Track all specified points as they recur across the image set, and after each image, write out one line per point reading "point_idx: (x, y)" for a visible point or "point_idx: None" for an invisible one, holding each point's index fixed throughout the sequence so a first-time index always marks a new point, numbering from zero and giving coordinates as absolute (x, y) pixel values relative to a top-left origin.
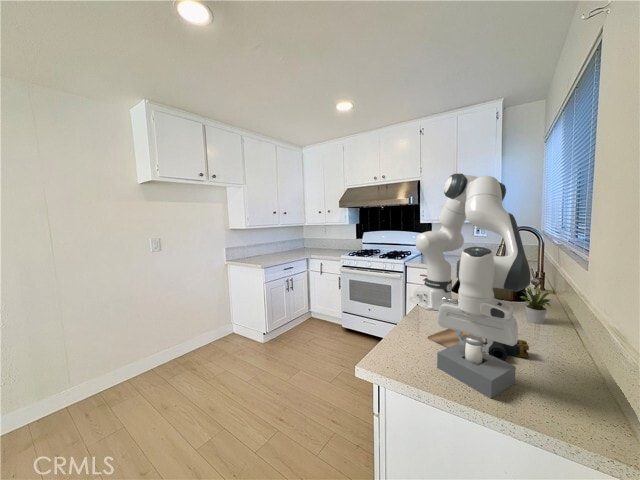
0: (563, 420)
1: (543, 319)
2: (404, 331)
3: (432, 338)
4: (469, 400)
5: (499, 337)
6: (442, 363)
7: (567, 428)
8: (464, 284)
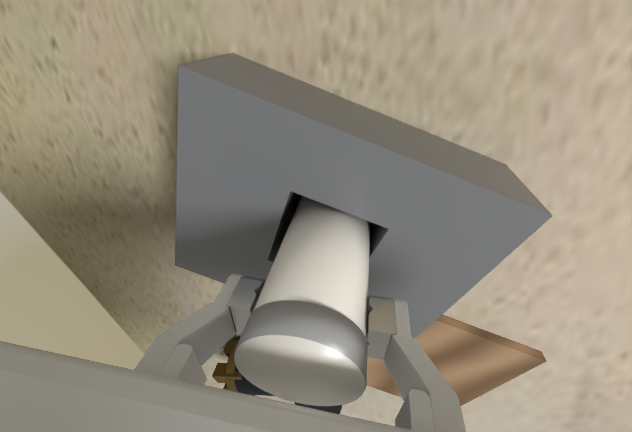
0: (43, 96)
1: None
2: None
3: (523, 354)
4: None
5: (7, 414)
6: (489, 169)
7: (11, 54)
8: None
